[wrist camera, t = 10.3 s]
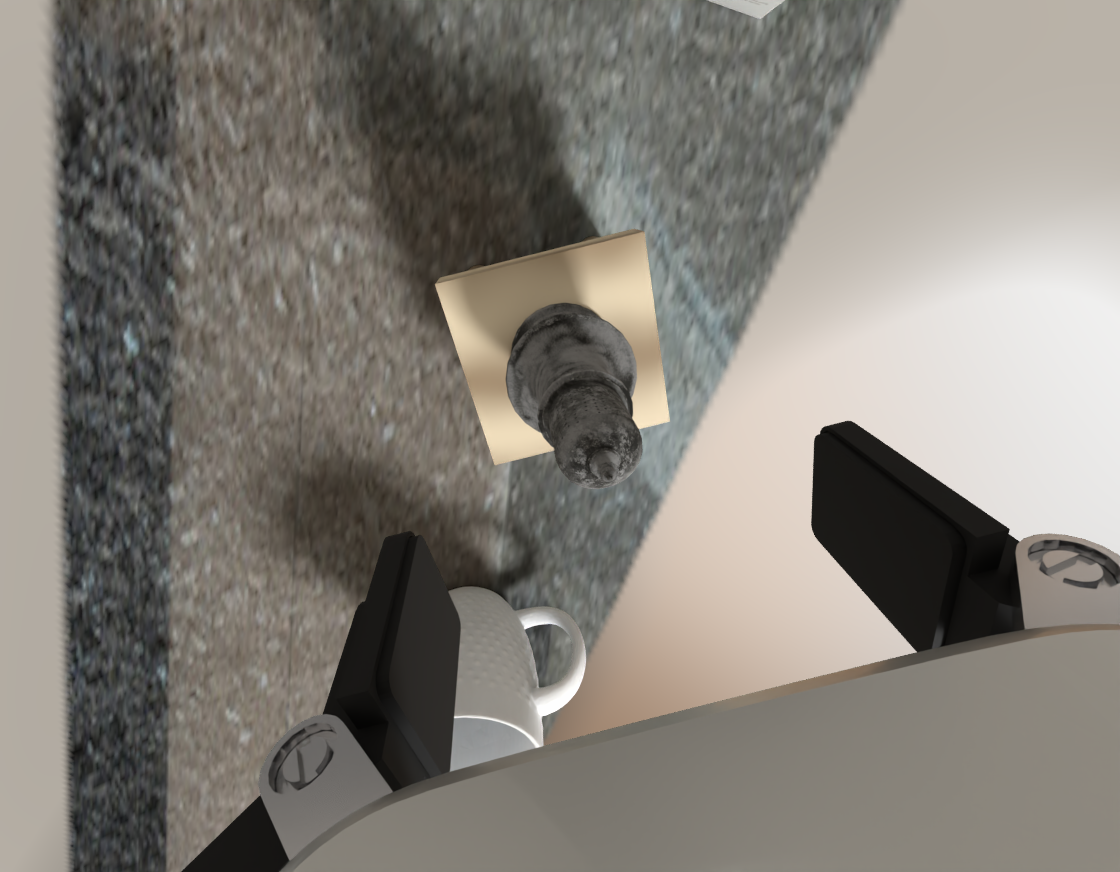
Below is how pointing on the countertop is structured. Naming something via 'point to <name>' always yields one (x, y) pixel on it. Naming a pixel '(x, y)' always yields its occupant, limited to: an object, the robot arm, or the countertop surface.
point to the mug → (504, 677)
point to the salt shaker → (577, 392)
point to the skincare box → (750, 6)
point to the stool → (533, 283)
